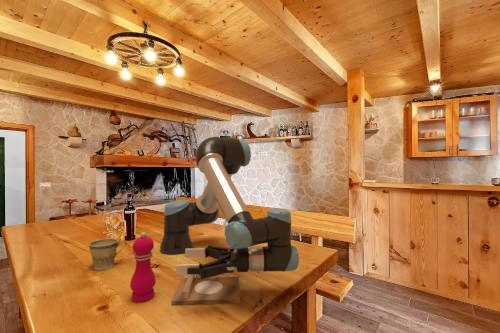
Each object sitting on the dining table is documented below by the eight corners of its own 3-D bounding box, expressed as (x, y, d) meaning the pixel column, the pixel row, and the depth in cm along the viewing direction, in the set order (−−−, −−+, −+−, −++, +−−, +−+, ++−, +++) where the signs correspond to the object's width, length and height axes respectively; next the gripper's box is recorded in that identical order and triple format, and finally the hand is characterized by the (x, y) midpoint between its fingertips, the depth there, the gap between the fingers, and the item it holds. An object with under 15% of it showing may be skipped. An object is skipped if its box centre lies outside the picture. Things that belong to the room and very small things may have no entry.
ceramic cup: (87, 274, 90) (87, 247, 90) (90, 264, 99) (90, 240, 99) (126, 267, 96) (126, 242, 96) (126, 259, 105) (126, 236, 105)
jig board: (171, 305, 70) (171, 294, 70) (182, 281, 85) (182, 272, 85) (240, 303, 72) (240, 292, 72) (239, 279, 87) (239, 270, 87)
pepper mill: (135, 291, 78) (135, 229, 78) (158, 290, 79) (158, 229, 79) (125, 304, 71) (126, 235, 71) (151, 303, 71) (151, 235, 72)
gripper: (252, 290, 64) (170, 293, 63) (246, 256, 89) (188, 257, 88) (252, 262, 65) (170, 264, 63) (246, 236, 89) (188, 237, 88)
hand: (181, 260), depth 75 cm, fingers open, 13 cm apart
